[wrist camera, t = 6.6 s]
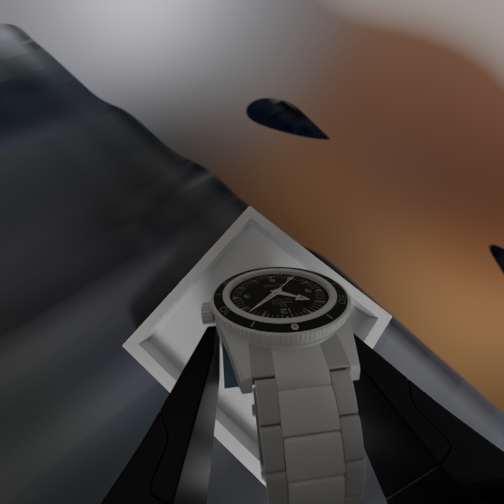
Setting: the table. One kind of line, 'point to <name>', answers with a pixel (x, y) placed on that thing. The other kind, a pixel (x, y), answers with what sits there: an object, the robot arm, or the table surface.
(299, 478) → the watch
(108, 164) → the table surface
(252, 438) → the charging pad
